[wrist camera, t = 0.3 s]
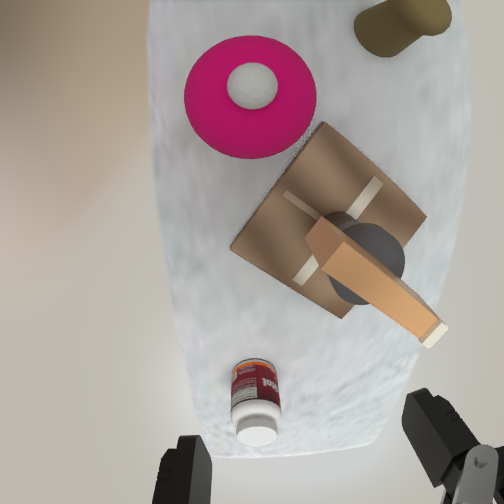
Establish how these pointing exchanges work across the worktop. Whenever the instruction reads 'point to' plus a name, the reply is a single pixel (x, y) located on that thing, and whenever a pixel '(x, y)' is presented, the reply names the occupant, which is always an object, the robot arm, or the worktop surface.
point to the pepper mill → (250, 97)
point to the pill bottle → (255, 402)
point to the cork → (400, 24)
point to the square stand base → (322, 213)
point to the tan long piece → (372, 275)
